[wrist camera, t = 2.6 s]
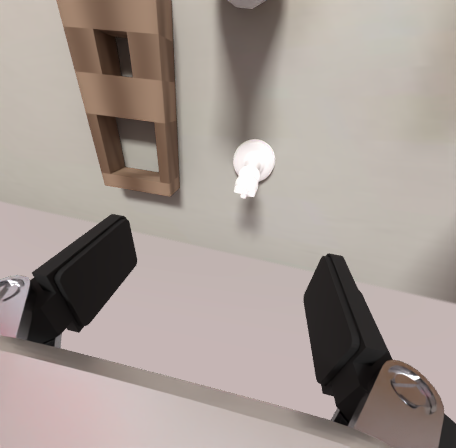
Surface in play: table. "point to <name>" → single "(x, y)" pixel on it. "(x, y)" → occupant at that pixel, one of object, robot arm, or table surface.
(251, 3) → the salt shaker
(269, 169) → the chess piece
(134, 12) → the socket plate
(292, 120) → the table surface
